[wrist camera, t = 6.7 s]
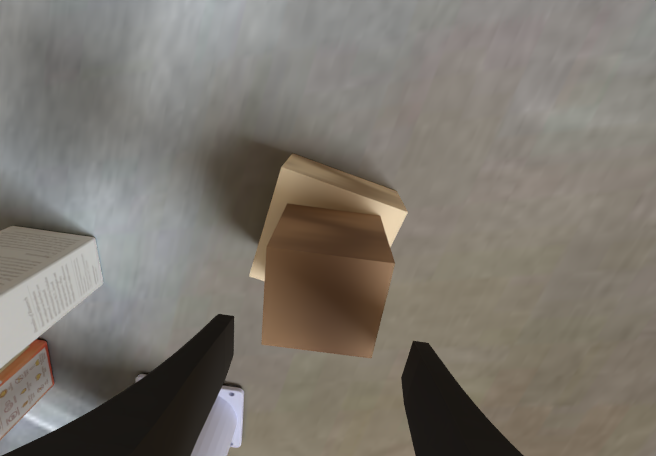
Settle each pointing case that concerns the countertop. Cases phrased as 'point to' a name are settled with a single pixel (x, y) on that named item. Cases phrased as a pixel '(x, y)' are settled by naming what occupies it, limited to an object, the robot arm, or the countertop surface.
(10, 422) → the cracker box
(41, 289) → the skincare box
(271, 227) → the maple block
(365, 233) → the walnut cube
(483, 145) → the countertop surface
